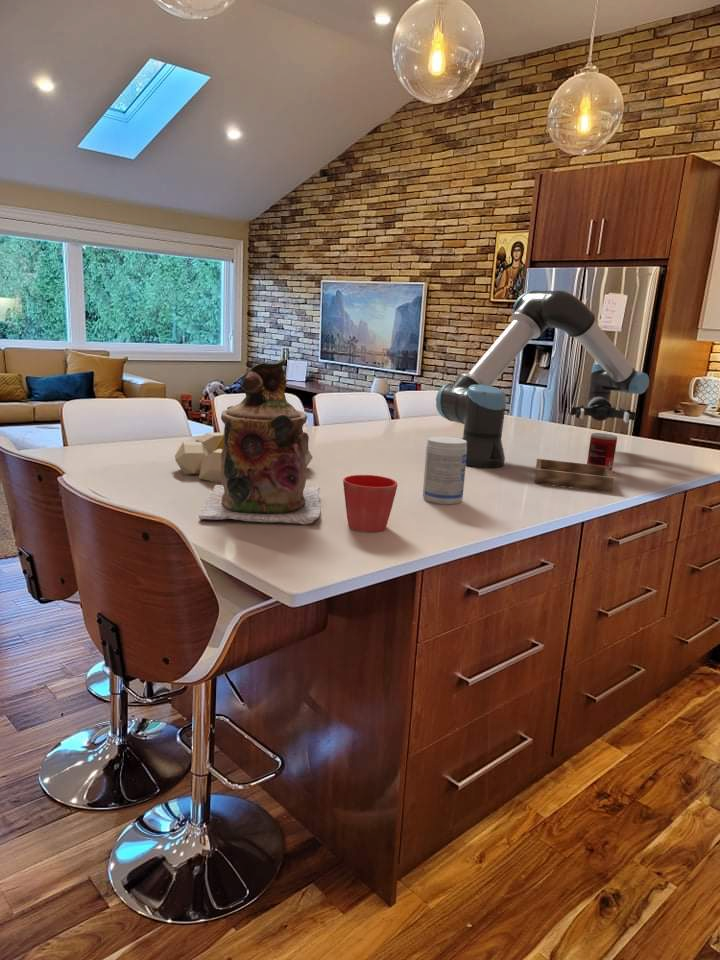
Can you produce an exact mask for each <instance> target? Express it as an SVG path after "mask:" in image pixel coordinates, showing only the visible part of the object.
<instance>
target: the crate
mask: <svg viewBox="0 0 720 960" xmlns="http://www.w3.org/2000/svg"><path fill="white" fill-rule="evenodd" d="M534 473H535V474H534V475H535V476H534V484H535V483H536V484H537V485H543V484H544V485H545V486H552V485H555V486H554V487H560V486H565V487H564V488H568V487H573V488H572V489H577V488H579V489H580V490H585V489H587V491H594V490H595V491H594V492H602V491H603V492H602V493H611V494H612V491H613V486H614V485H613V484H614V476H613V473H612V471H610V469H609V467H608V466H600V465H590V464H587V463H580V462H569V461H561V460H554V459H553V460H551V459H544V458H537V459H536V466H535V471H534ZM536 484H535V485H536Z"/></svg>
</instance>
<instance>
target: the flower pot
mask: <svg viewBox="0 0 720 960" xmlns="http://www.w3.org/2000/svg"><path fill="white" fill-rule="evenodd" d="M342 483H343V484H342V485H343V492H344V493H343V494H344V501H345V511H346V518H347V526H348V527H349V528H350V529H352V530H355V531H358V532H363V533H377V532H378V533H380V532H382V531H384V530H386V529H387V525H388V523H389V519H390V515H391V512H392V509H393V505H394V501H395V497H396V492H397V489H398V482H397V480H395V479H392V478H390V477H386V476H382V475H381V476H380V475H375V474H374V475H373V474H354V475H353V474H352V475H349V476H345V477H344V478H343V479H342Z"/></svg>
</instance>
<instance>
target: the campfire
mask: <svg viewBox="0 0 720 960" xmlns="http://www.w3.org/2000/svg"><path fill="white" fill-rule="evenodd" d="M233 406H234V405H231V406H228V407H227V408H226V410H228V409H229V408H231V407H233ZM223 445H224V432H219V431H218V432H207V433H205V434H203V435H201V436H199V437H197V438H195V441H183V442H182V443H181V445H180V447H178V450H177V451H176V453H175V455H174V458H175V459H174V460H175V462H176V464H177V465H178V467H179V468H180V470H181V472H182V473H183V475H198V478H199V479H201V480H205V481H209V482H212V481H213V482H212V483H222V482H221V453H222V449H223ZM305 458H306V468H308V466H309V465H310V462H311V461H312V459H313V455H312V454H311V452H310V450H308V454H307V455H306V456H305Z"/></svg>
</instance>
